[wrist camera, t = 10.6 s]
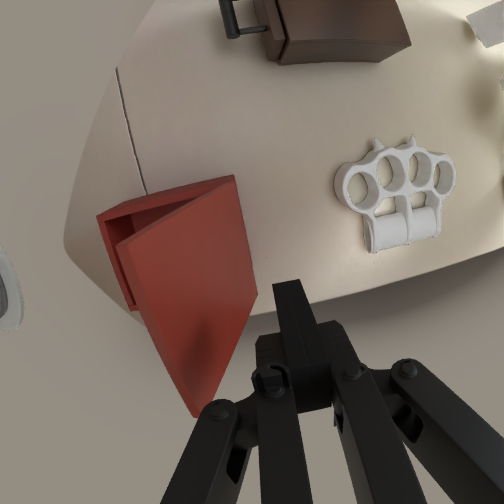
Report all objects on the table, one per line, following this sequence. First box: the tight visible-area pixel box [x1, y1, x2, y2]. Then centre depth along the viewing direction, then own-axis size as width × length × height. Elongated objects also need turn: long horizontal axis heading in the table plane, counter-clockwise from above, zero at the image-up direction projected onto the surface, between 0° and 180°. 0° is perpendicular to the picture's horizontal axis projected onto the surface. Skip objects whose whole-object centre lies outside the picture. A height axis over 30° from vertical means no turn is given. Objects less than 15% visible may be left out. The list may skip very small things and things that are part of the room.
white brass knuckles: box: [334, 134, 456, 254], centre depth 32 cm, size 3×18×15 cm
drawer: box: [218, 0, 287, 60], centre depth 22 cm, size 17×10×7 cm, turn 101°
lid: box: [116, 181, 258, 418], centre depth 20 cm, size 16×12×1 cm
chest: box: [96, 175, 253, 311], centre depth 31 cm, size 15×12×8 cm
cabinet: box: [276, 0, 412, 66], centre depth 22 cm, size 14×12×9 cm
